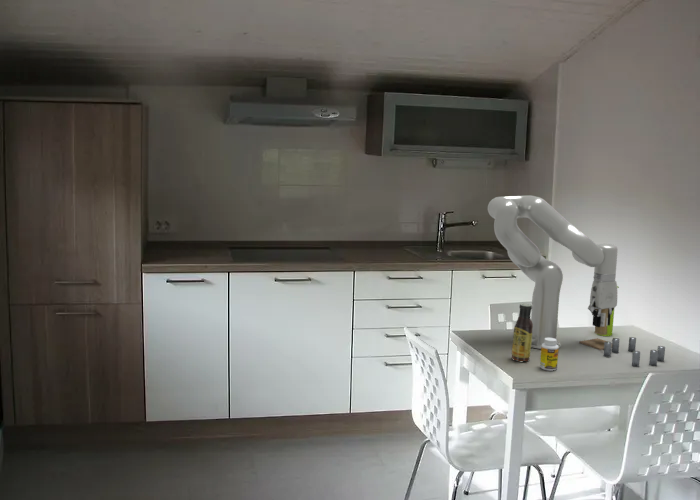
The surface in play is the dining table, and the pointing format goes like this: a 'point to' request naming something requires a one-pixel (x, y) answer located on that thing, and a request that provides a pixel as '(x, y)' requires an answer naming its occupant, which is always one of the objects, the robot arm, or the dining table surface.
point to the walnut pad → (594, 343)
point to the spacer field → (634, 352)
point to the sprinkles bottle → (602, 322)
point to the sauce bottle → (522, 334)
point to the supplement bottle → (549, 354)
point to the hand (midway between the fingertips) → (601, 324)
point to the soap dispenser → (610, 327)
